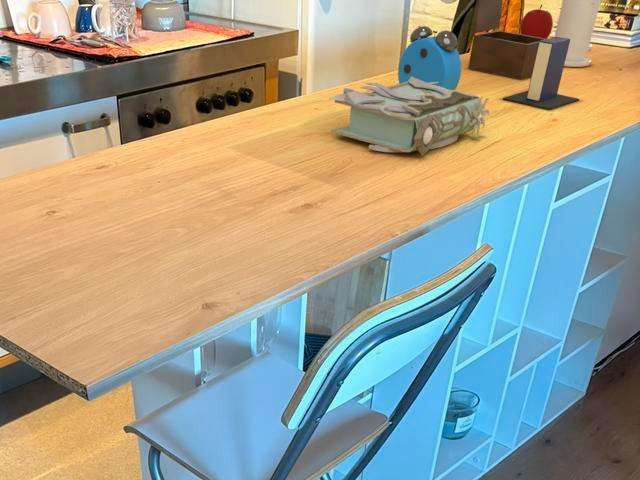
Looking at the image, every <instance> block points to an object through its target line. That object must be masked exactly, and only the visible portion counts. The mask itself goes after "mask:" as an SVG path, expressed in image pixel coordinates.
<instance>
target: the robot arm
mask: <svg viewBox="0 0 640 480" xmlns="http://www.w3.org/2000/svg"><path fill="white" fill-rule="evenodd" d="M601 1H602V0H562V3H561V7H560V12H559V14H558V20H557V24H556V27H555V34H554V37H562V38H568V39H570V43H569V48H568V52H567V56H566V60H565V64H564V67H569V68H570V67H571V68H585V67H588V66H590V65H591V63H592V59H591V58H590V57H587V56H588V52H589V53H590V52H591V51H592V50H593V44H592V43H591V40H592V37H593V32H594V28H595V25H596V21H597V17H598V14H599V10H600V6H601V3H602V2H601Z"/></svg>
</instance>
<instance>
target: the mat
mask: <svg viewBox="0 0 640 480" xmlns="http://www.w3.org/2000/svg"><path fill="white" fill-rule="evenodd" d="M527 94H528V90H525V91H522V92H519V93H515V94H511V95H508V96H505V97H503V98H502V100H503V101H506V102H507V101H508V102H512V103H517V104H521V105H524V106H529V107H534V108H539V109H542V110H548V111H551V110H554V109H557V108H560V107H563V106H566V105H569V104H572V103H575V102H579V101H580V98H578V97H573V96H569V95H563V94H559V93H557V97H555V98H552V99H548V100H545V101H542V102H536V101H531V100H527V99H526V98H527Z"/></svg>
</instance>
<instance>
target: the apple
mask: <svg viewBox="0 0 640 480" xmlns="http://www.w3.org/2000/svg"><path fill="white" fill-rule="evenodd" d="M542 7H543V4H540V7H539V9H537V8H536V9H532V10H529V11H528V12H527V13H526V14H525V15H524V16H523V18H522V20H521V22H520V34H522V35H527V36H533V37H539V38H544V39H549V37H550V35H551V33H552V30H553V26H554V20H553V16H552V14H551V12H549V10H544V9H542Z"/></svg>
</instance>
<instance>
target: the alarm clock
mask: <svg viewBox="0 0 640 480" xmlns="http://www.w3.org/2000/svg"><path fill="white" fill-rule="evenodd" d="M433 34H434V36H432V35H433ZM409 41H410V44H408V46H407V47H405V50H404V51H403V53H402V54H401V57H400V58H399V63H398V71H397V79H398V84H400V83H403V82H407V81H408V80H409V79H410V78H411V76H412V77H414V78H417V79H419V80H421V81H424V82H427V83H430V82H439V83H436V84H432V85H436V86H440V87H443V88H446V89H448V90H457V88H458V85H459V83H460V80H461V74H462V61H461V57H460V56H461V55H460V53H459V51H458V48H457V47H458V38H457V36H456V34H455V33H453V31H450V30H447V29H446V30H444V29H443V30H441V31H439V32H438V31H437V30H432V28H430V27H429V26H426V25H421V26H420V25H418V26H417V27H416V28H415V29H414V30H413V31H412V32H411V34H410V35H409Z"/></svg>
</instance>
